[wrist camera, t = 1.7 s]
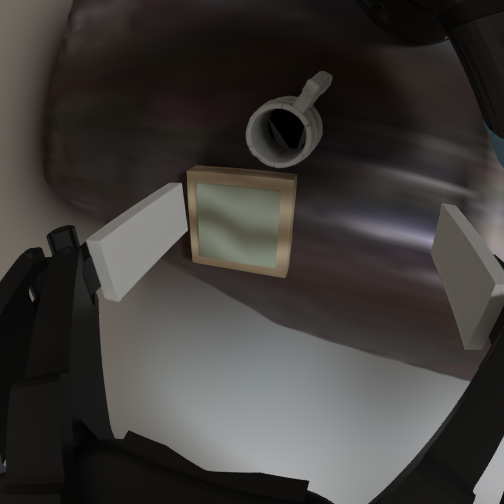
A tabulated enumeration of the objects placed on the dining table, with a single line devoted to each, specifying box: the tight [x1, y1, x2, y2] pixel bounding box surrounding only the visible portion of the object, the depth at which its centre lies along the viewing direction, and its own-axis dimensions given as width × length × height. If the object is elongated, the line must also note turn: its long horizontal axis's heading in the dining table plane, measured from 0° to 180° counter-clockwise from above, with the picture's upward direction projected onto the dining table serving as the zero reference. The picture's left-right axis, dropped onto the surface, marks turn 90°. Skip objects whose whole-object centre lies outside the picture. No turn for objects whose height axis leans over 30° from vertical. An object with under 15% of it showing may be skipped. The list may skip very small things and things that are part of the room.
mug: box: [246, 71, 332, 168], centre depth 29 cm, size 8×12×12 cm, turn 147°
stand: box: [187, 165, 297, 278], centre depth 42 cm, size 14×14×3 cm
